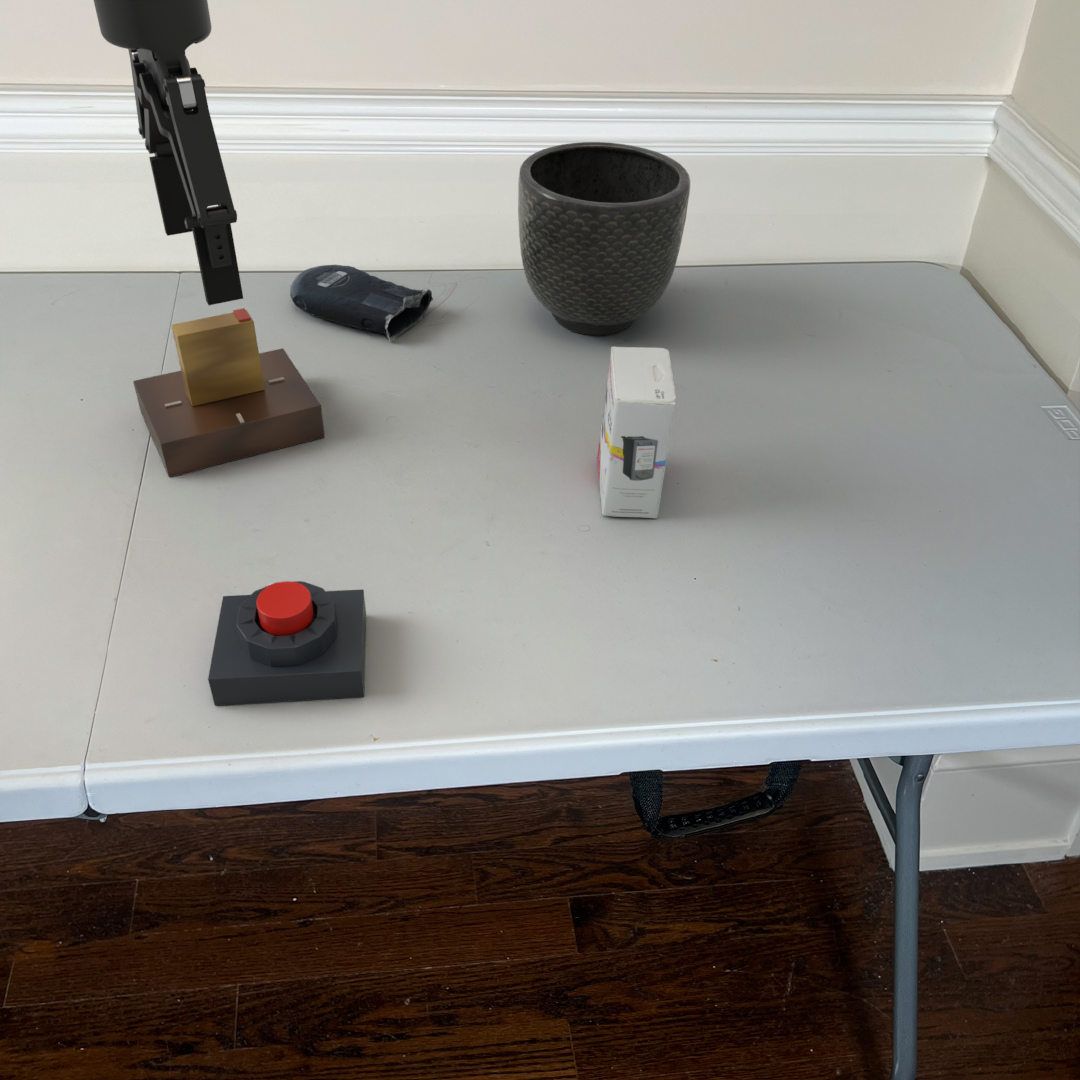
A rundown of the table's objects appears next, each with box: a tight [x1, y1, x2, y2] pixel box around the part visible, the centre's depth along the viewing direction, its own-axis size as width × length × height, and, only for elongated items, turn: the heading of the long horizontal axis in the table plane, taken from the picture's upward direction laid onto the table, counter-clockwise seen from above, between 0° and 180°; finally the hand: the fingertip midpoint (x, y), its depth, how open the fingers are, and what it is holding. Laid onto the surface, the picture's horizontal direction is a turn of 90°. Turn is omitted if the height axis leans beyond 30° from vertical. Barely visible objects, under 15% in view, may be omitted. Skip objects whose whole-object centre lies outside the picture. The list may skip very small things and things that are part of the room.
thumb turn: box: [170, 307, 265, 406], centre depth 90 cm, size 6×2×7 cm, turn 118°
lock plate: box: [132, 348, 326, 478], centre depth 94 cm, size 14×11×4 cm
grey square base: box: [207, 580, 367, 707], centre depth 72 cm, size 10×8×4 cm
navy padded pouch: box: [289, 264, 434, 343], centre depth 111 cm, size 9×6×15 cm
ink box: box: [596, 345, 677, 519], centre depth 86 cm, size 9×5×12 cm, turn 0°
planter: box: [517, 141, 691, 336], centre depth 108 cm, size 17×17×16 cm
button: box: [256, 580, 314, 636], centre depth 70 cm, size 4×4×2 cm
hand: (202, 264), depth 85 cm, fingers open, 13 cm apart
